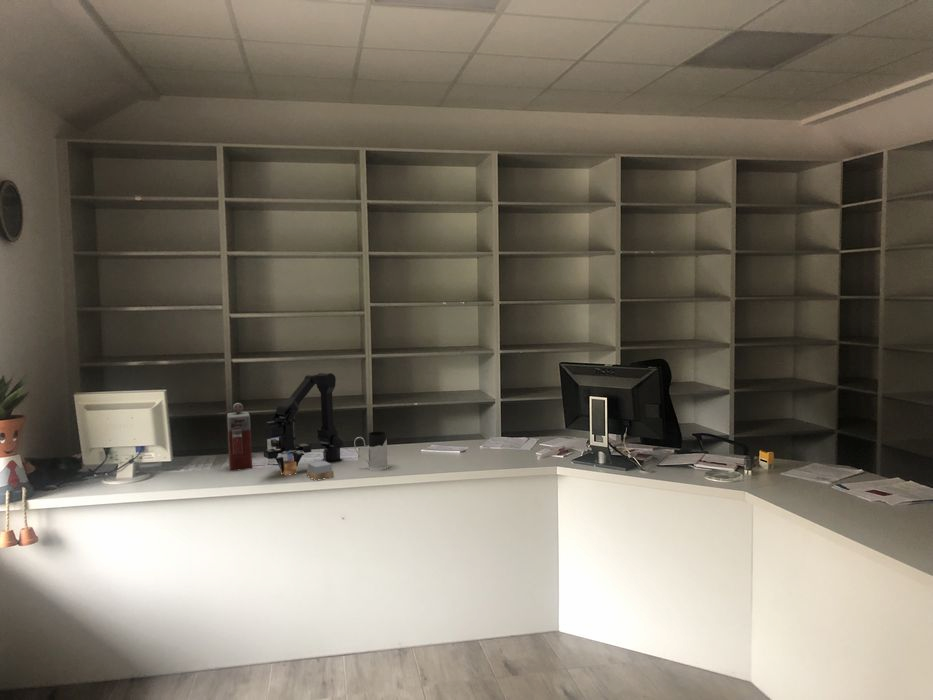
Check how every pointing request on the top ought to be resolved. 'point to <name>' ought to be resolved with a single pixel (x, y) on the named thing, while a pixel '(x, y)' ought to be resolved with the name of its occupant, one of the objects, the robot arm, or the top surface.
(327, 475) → the tower base
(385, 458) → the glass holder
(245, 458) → the red and grey bottle
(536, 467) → the top surface
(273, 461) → the ink cartridge box
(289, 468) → the orange cube
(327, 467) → the tower top
